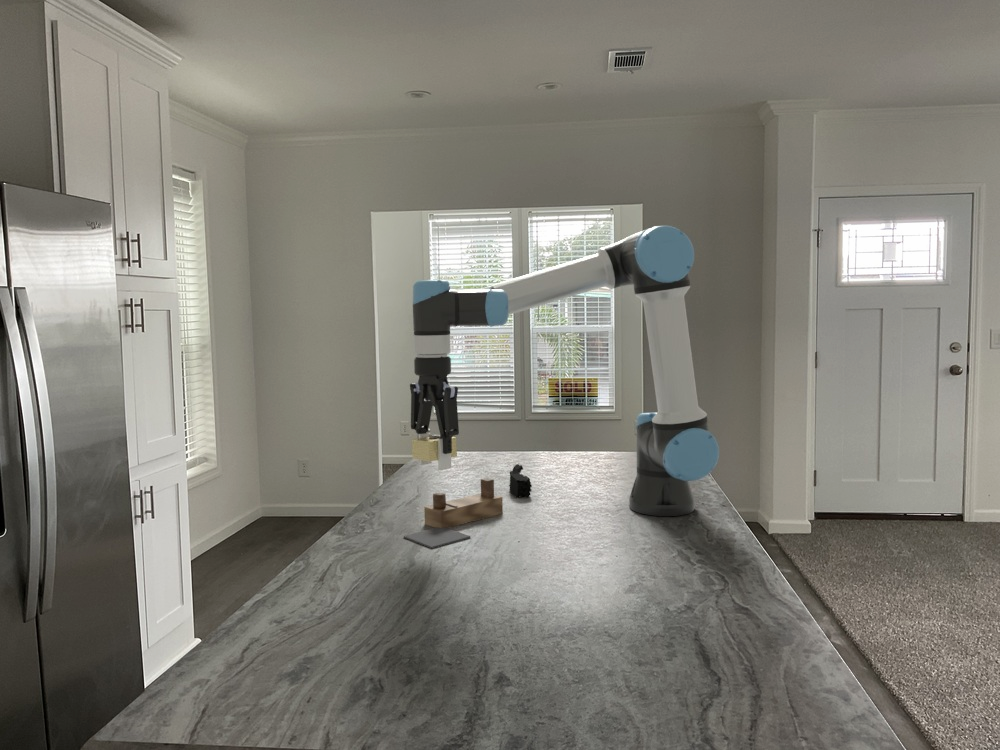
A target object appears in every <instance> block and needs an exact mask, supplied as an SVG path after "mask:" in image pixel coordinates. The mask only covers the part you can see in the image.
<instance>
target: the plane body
mask: <svg viewBox="0 0 1000 750" xmlns="http://www.w3.org/2000/svg"><path fill="white" fill-rule="evenodd" d="M446 497H447V495H446V492H435V493H433V494H432V504H430V505H426V506H424V510H423V511H424V512H423V513H424V525H426V526H429V527H432V528H434V527H435V528H436V527H439V528H443V527H446V528H449V527H450V528H453V526H454V527H457V526H460V524H461V525H464V524H463V523H465V524H467V522H469V523H472V522H471V521H473V522H476V521H475V520H477V521H479V519H480V520H484V519H488V518H492V517H495V516H498V515H499V516H500V515H503V513H504V512H503V511H504V509H503V505H504V504H503V496H501V495H496V494H495V480H494V478H489V477H486V478H480V493H477V494H473V495H469V496H464V497H459V498H456V499H451V500H447V499H446ZM487 517H488V518H487ZM483 518H484V519H483ZM450 528H449V529H450Z"/></svg>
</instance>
